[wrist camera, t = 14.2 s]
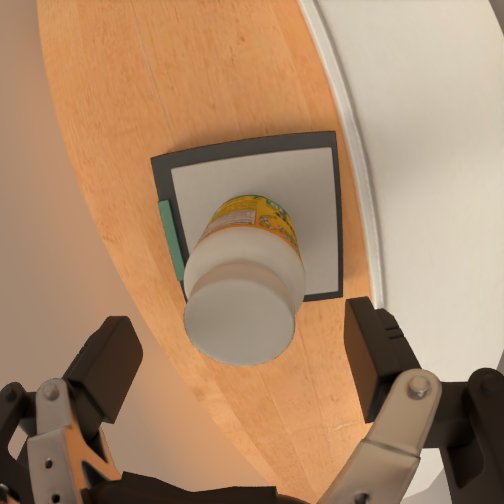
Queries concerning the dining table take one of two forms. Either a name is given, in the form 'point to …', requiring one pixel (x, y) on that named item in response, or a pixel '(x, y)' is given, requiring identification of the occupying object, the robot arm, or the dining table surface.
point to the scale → (265, 183)
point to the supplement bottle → (244, 283)
